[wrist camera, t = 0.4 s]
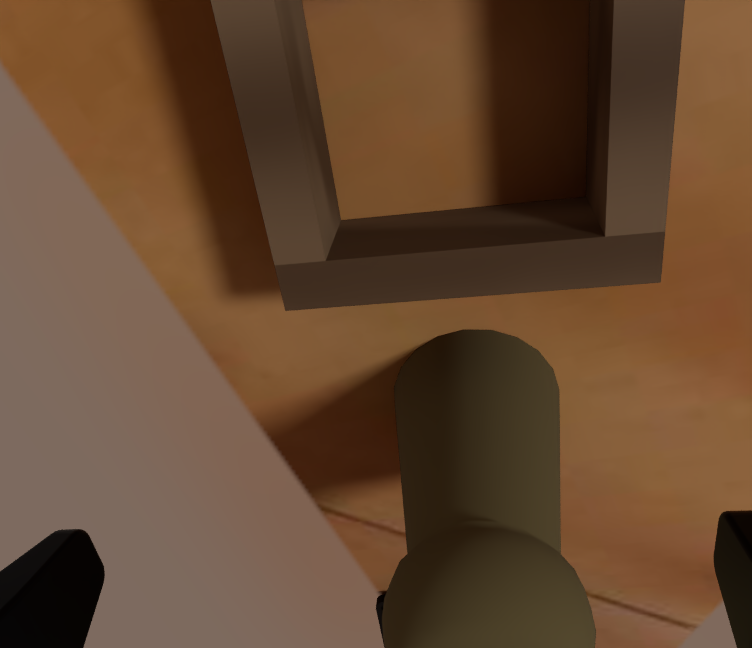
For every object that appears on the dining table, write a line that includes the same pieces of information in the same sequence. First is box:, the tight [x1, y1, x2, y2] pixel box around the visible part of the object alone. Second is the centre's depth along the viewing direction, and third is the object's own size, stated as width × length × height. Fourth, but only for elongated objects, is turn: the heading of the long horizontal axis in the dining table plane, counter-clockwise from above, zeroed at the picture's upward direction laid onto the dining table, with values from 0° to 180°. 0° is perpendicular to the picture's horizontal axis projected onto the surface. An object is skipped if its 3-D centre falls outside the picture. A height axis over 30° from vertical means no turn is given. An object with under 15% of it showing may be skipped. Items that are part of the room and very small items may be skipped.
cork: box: [382, 330, 596, 648], centre depth 20 cm, size 6×6×11 cm
